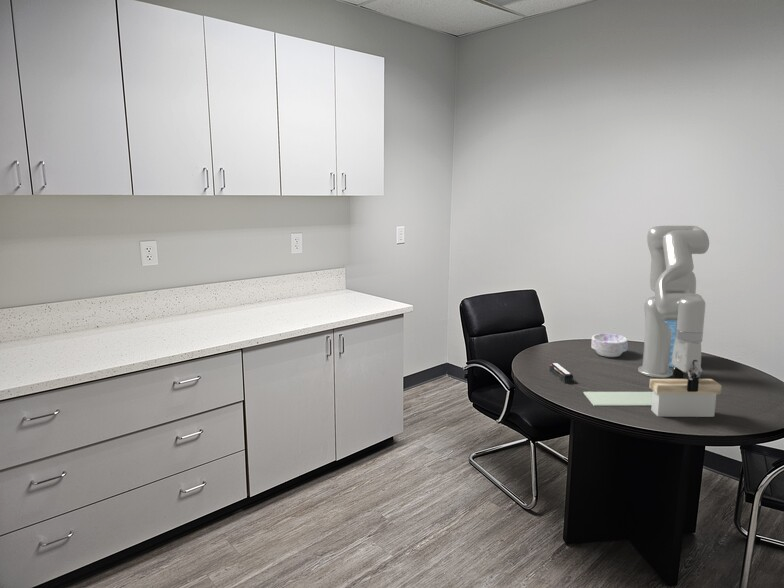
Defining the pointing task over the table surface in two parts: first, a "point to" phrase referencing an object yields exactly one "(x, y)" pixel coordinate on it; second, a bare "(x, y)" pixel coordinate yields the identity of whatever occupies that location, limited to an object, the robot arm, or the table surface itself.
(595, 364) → the table surface
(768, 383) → the table surface
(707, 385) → the beige wooden block
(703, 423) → the table surface
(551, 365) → the bus
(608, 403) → the mat
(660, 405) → the box
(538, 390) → the table surface
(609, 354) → the paper bowls
